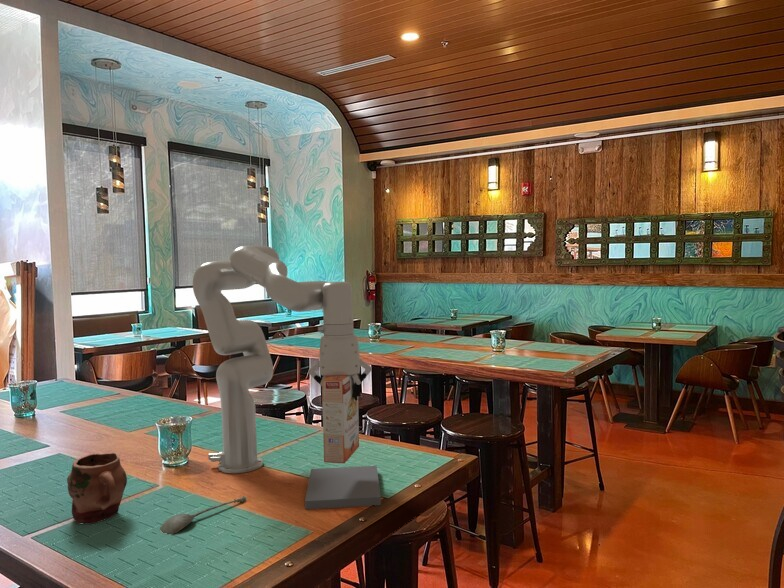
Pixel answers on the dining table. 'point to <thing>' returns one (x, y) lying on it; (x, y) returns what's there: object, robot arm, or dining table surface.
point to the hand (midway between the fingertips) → (341, 399)
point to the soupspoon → (188, 518)
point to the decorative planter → (96, 487)
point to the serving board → (343, 487)
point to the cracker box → (339, 418)
